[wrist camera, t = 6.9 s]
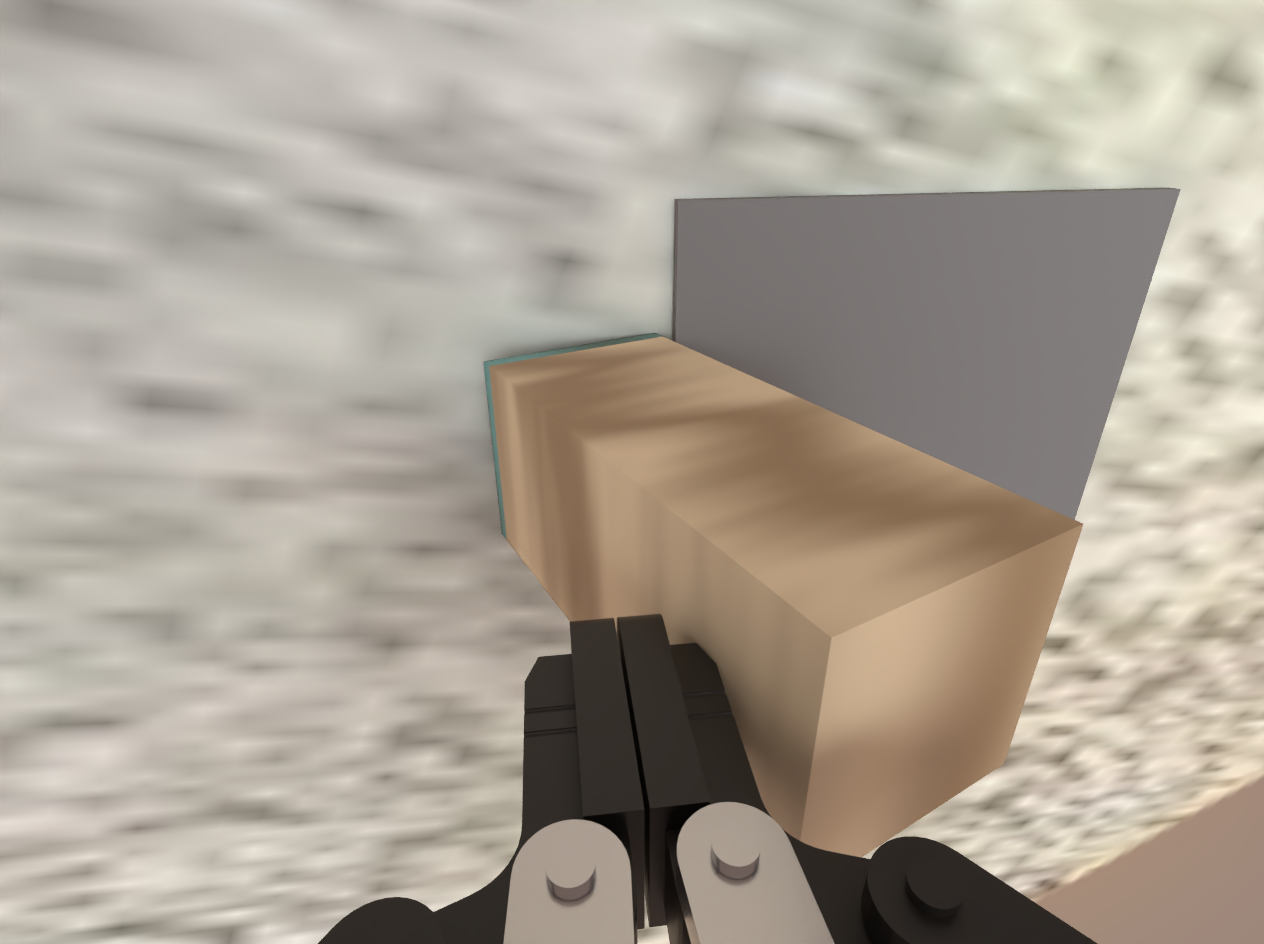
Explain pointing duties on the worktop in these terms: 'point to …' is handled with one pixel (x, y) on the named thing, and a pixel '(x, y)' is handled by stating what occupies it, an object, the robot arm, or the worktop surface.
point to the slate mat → (933, 315)
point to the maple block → (786, 570)
